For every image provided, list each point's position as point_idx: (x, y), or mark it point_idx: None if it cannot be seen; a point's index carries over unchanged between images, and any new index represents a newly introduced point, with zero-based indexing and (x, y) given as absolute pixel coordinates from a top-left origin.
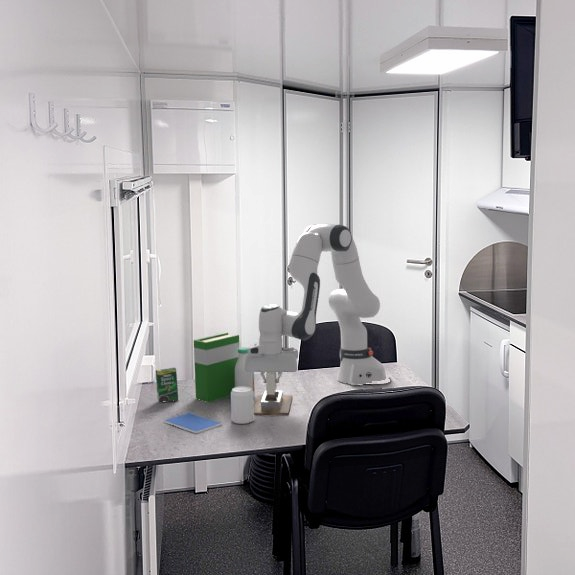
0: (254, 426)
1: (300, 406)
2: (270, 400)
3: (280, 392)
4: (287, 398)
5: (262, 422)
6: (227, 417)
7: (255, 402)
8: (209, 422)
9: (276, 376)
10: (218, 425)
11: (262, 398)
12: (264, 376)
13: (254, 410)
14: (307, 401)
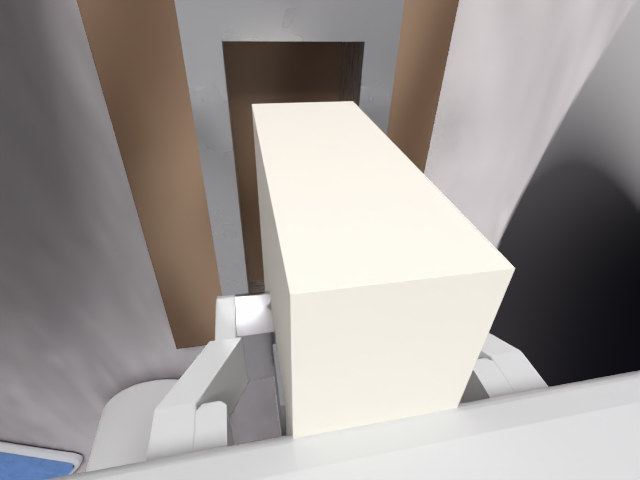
0: (242, 434)
1: (482, 168)
2: (260, 89)
3: (376, 83)
4: (419, 14)
5: (268, 399)
6: (50, 387)
7: (131, 157)
8: (5, 471)
9: (407, 158)
10: (73, 472)
11: (221, 273)
12: (230, 383)
13: (188, 315)
14: (565, 42)
